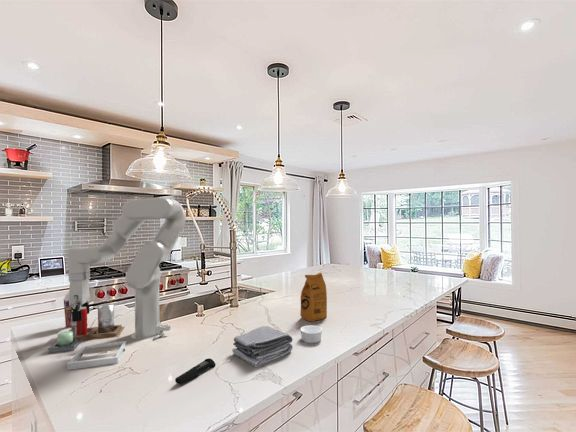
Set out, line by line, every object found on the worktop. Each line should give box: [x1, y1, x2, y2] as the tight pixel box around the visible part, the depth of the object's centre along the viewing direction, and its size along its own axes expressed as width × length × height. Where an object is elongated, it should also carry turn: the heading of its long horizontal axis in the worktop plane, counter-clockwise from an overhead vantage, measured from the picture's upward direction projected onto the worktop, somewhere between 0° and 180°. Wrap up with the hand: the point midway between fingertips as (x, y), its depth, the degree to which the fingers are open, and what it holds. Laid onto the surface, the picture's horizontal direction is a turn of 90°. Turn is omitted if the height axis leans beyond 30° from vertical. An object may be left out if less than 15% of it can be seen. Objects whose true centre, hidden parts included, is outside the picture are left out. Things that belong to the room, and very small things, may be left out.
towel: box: [231, 325, 294, 368], centre depth 115 cm, size 15×18×8 cm
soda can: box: [70, 306, 88, 336], centre depth 130 cm, size 6×6×12 cm
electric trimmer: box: [174, 358, 217, 385], centre depth 100 cm, size 4×16×3 cm, turn 151°
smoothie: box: [63, 291, 79, 328], centre depth 145 cm, size 8×8×20 cm
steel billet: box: [97, 302, 115, 333], centre depth 133 cm, size 6×6×12 cm
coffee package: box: [299, 272, 328, 323], centre depth 155 cm, size 10×12×22 cm
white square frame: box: [67, 340, 127, 370], centre depth 113 cm, size 15×15×2 cm
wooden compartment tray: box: [68, 324, 125, 342], centre depth 132 cm, size 22×13×3 cm, turn 107°
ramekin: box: [300, 324, 323, 344], centre depth 128 cm, size 9×9×4 cm
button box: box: [47, 338, 82, 354], centre depth 119 cm, size 8×8×3 cm
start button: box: [56, 330, 73, 346], centre depth 119 cm, size 5×5×4 cm
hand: (81, 317), depth 131 cm, fingers open, 9 cm apart
